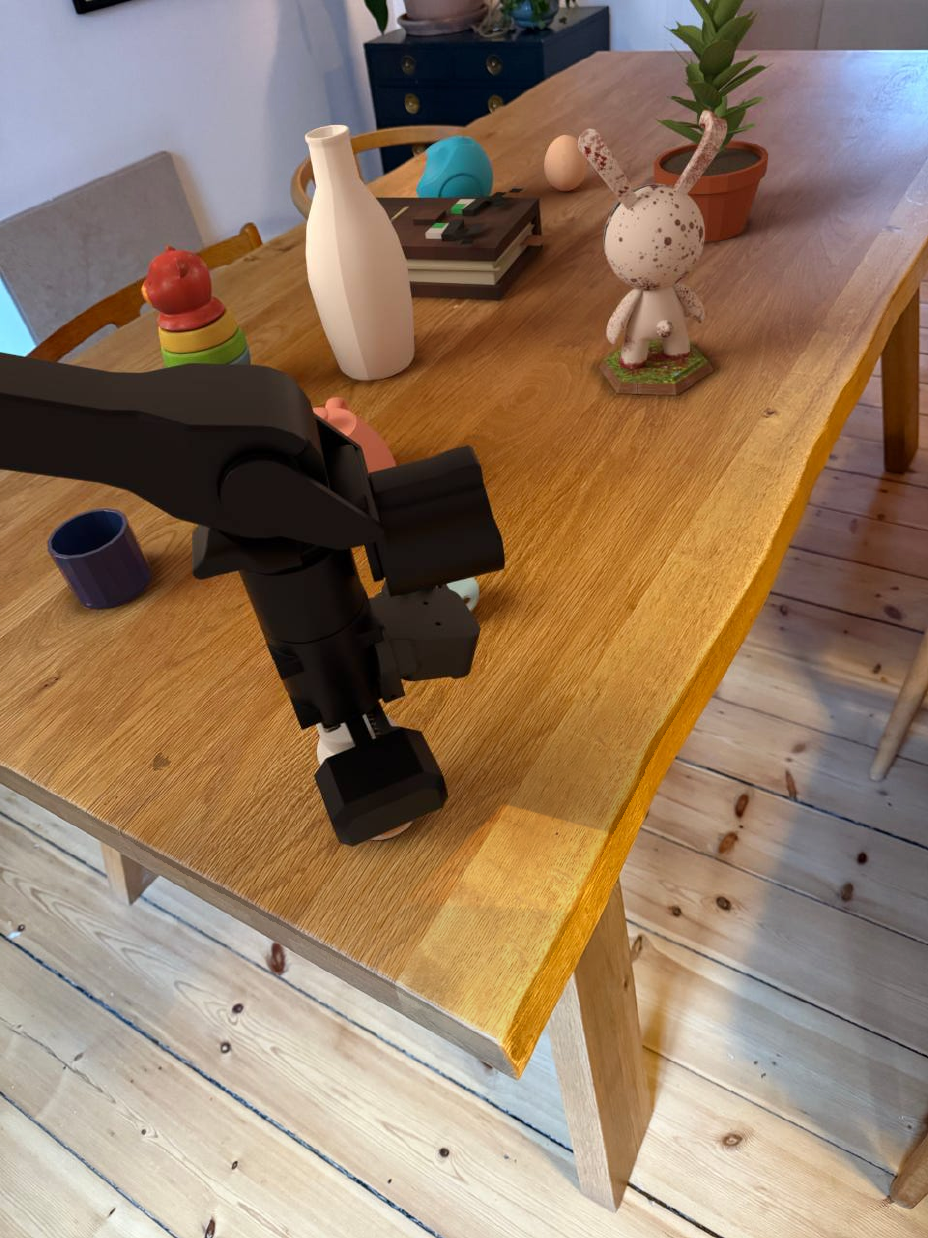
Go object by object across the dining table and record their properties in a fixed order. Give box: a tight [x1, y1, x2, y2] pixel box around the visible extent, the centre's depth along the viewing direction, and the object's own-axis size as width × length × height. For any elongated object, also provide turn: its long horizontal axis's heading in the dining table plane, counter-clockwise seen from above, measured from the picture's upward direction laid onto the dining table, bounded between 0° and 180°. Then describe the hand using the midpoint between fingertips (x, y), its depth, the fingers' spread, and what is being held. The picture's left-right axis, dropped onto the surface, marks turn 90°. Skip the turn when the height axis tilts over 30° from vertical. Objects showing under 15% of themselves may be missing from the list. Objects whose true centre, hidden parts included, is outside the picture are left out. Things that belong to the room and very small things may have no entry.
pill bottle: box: [316, 714, 414, 841], centre depth 57 cm, size 5×5×10 cm
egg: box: [543, 134, 588, 192], centre depth 138 cm, size 7×7×8 cm
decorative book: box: [375, 187, 550, 301], centre depth 122 cm, size 19×8×30 cm
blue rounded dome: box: [415, 134, 494, 198], centre depth 134 cm, size 12×11×12 cm
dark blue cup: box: [46, 507, 153, 610], centre depth 80 cm, size 7×7×6 cm
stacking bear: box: [140, 245, 252, 368], centre depth 99 cm, size 11×10×18 cm
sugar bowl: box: [312, 396, 397, 473], centre depth 83 cm, size 12×14×10 cm
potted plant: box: [653, 0, 774, 243], centre depth 112 cm, size 15×15×30 cm
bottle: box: [304, 124, 415, 382], centre depth 98 cm, size 11×11×25 cm
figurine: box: [577, 110, 727, 397], centre depth 88 cm, size 14×12×25 cm
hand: (372, 781), depth 58 cm, fingers open, 6 cm apart
